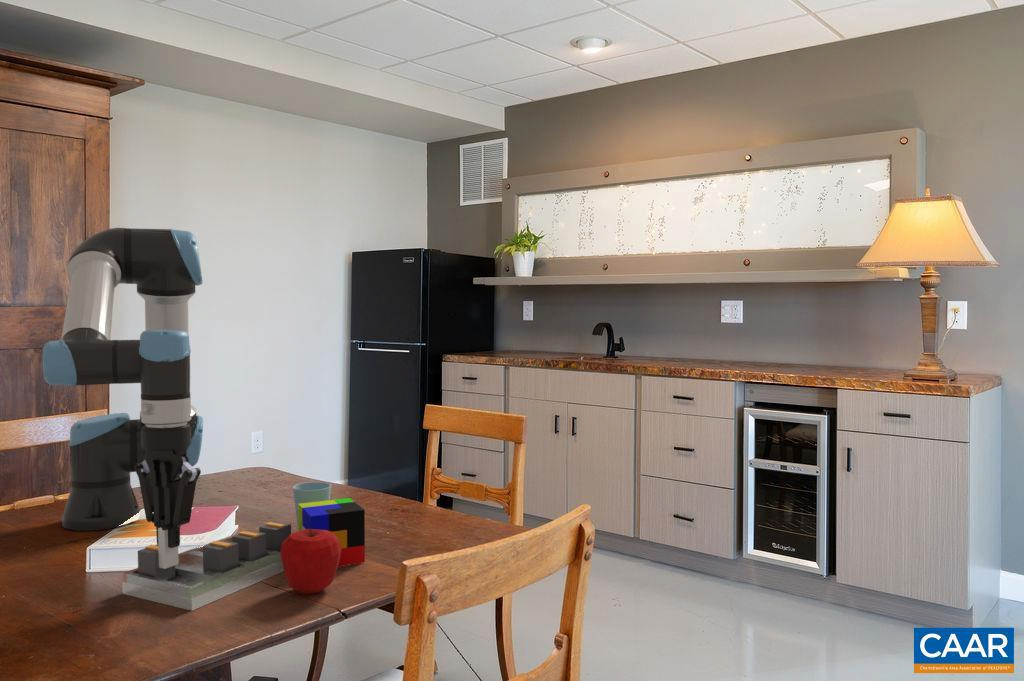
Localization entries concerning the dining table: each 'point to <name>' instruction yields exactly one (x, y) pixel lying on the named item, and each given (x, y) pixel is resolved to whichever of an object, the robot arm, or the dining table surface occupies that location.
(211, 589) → the panel
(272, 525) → the block
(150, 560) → the block
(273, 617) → the dining table surface
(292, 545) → the apple
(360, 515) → the puzzle toy
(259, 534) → the block
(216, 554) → the block
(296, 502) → the cup
